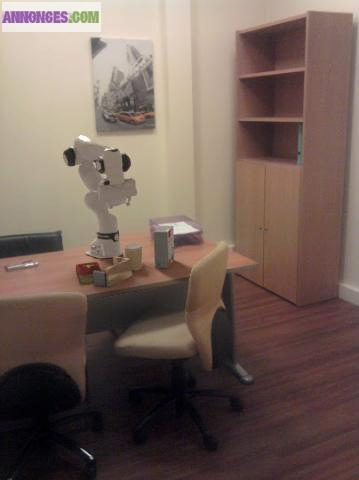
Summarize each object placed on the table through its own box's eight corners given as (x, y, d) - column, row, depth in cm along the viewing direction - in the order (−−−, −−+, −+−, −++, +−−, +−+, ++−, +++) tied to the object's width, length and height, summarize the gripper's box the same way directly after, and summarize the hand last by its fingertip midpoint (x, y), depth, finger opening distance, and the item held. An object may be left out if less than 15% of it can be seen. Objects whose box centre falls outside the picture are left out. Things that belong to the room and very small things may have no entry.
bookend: (94, 284, 225) (92, 271, 223) (96, 283, 226) (95, 270, 224) (105, 287, 221) (103, 273, 219) (107, 286, 223) (105, 272, 221)
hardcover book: (79, 284, 228) (79, 276, 227) (76, 271, 247) (75, 263, 246) (104, 281, 231) (103, 273, 230) (98, 268, 250) (97, 261, 249)
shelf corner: (93, 283, 227) (91, 265, 225) (116, 272, 241) (114, 256, 239) (109, 286, 222) (108, 269, 219) (132, 275, 236) (130, 258, 234)
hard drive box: (168, 268, 245) (167, 232, 239) (154, 268, 246) (152, 232, 241) (174, 259, 259) (173, 225, 254) (161, 259, 261) (159, 224, 255)
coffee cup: (146, 267, 248) (145, 245, 245) (134, 271, 242) (132, 249, 238) (134, 263, 254) (133, 243, 251) (122, 268, 247) (120, 247, 244)
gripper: (132, 177, 243) (136, 203, 245) (95, 182, 234) (99, 209, 237) (137, 177, 237) (140, 204, 240) (98, 183, 229) (102, 210, 232)
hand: (119, 207), depth 238 cm, fingers open, 8 cm apart
